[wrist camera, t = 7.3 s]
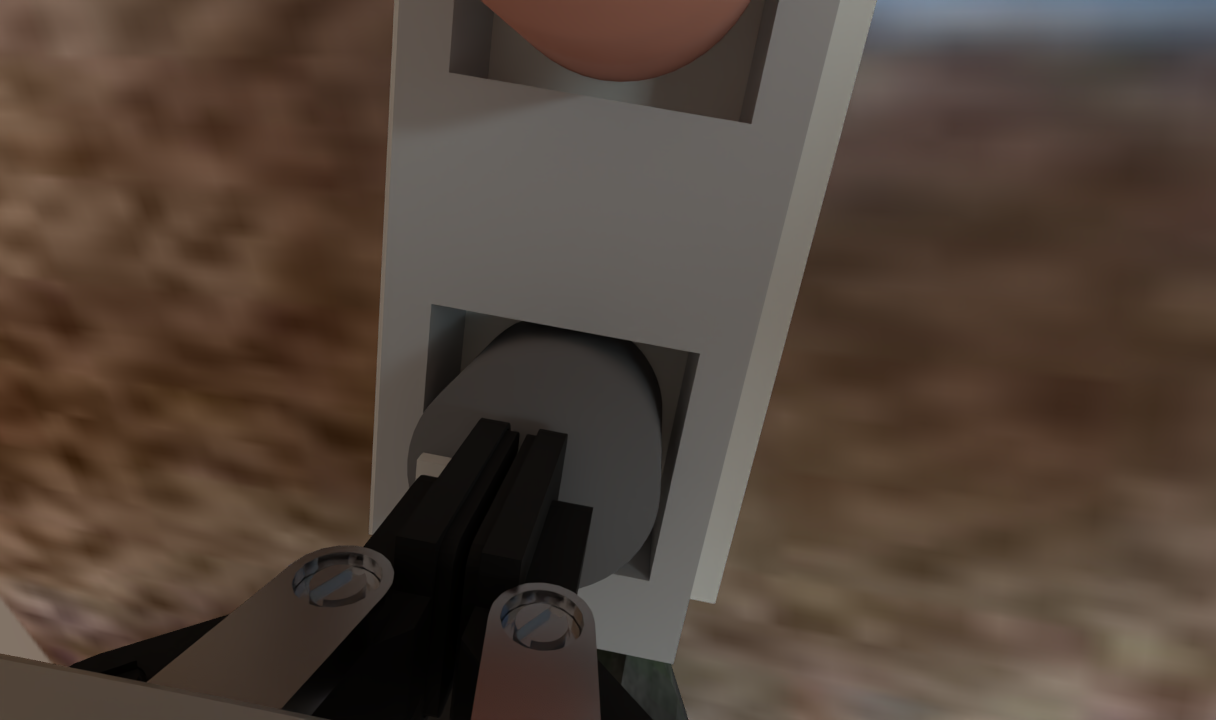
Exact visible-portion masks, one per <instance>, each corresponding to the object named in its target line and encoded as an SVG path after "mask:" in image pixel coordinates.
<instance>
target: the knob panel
mask: <svg viewBox="0 0 1216 720" xmlns="http://www.w3.org/2000/svg"><path fill="white" fill-rule="evenodd" d="M876 2H877V0H751V1H750V3H749V5H748V7H747V8H746V9H745V11H744V12H743V14H742V15H741V17H740V18H739V20H738V21H737V22H736V24H735V25H734V26H733V27H732V28H731V29H730V30H729V31H728V33H727V34H726V35H725V36H724V37H723V38H722V39H721V40H720V41H719V42H718V43H717V44H715V45H714V46H713V47H712V48H711V49H710V50H709V51H707V52H706V53H705V54H703V55H702V56H700V57H699V58H697V59H696V60H694V61H693V62H691V63H690V64H688V65H686V66H684V67H682V68H680V69H678V70H676V71H674V72H671V73H668V74H665V75H662V76H659V77H656V78H651V79H646V80H640V81H628V82H615V81H604V80H598V79H594V78H590V77H586V76H583V75H580V74H578V73H575V72H573V71H570V70H568V69H566V68H564V67H562V66H560V65H559V64H557V63H555V62H553V61H552V60H550V59H549V58H548V57H546V56H545V55H544V54H542V53H541V52H540V51H538V50H537V49H536V48H535V47H534V46H532V45H531V44H530V43H529V42H528V41H527V40H525V39H524V38H523V37H522V36H521V35H520V34H519V33H517V32H516V31H515V30H514V29H513V28H512V27H511V26H509V25H508V24H507V23H506V22H505V21H504V20H502V19H501V18H500V17H499V16H498V15H497V14H496V13H494V12H493V11H492V10H491V9H490V8H489V7H488V6H486V5H485V4H484V3H483V2H482V1H481V0H394V16H393V37H392V58H391V79H390V100H389V121H388V142H387V163H386V184H385V204H384V225H383V246H382V267H381V288H380V309H379V330H378V351H377V371H376V392H375V413H374V434H373V455H372V476H371V497H370V518H369V534H370V535H373V534H374V533H375V531H376V530H377V529H378V528H379V526H380V525H381V524H382V523H383V521H384V520H385V519H386V517H387V516H388V515H389V514H390V512H391V511H392V510H393V509H394V507H395V506H396V505H397V503H398V502H399V501H400V500H401V498H402V497H403V496H404V495H405V493H406V492H407V491H408V489H409V484H408V477H407V459H408V452H409V446H410V442H411V439H412V436H413V432H414V430H415V428H416V426H417V424H418V422H419V419H420V418H421V416H422V415H423V413H424V412H425V410H426V409H427V407H428V406H429V405H430V404H431V403H432V401H433V400H434V399H435V398H436V397H437V396H438V395H439V394H440V393H441V392H442V391H443V390H444V389H445V388H446V387H447V386H448V385H449V384H450V383H451V382H452V381H453V380H454V379H455V378H456V377H457V376H458V375H459V374H460V373H461V372H462V371H463V370H464V369H465V368H466V367H467V366H468V365H469V364H470V363H471V362H472V361H473V360H474V359H475V358H476V357H477V356H478V355H479V354H480V353H481V352H482V351H483V350H484V349H485V348H486V347H487V346H488V345H489V344H490V343H491V342H492V341H493V340H494V339H495V338H496V337H497V336H498V335H499V334H501V333H502V332H503V331H504V330H506V329H507V328H509V327H510V326H512V325H514V324H515V323H518V322H520V321H527V322H532V323H538V324H543V325H548V326H554V327H559V328H565V329H570V330H575V331H581V332H586V333H592V334H597V335H602V336H608V337H613V338H618V339H624V340H629V341H632V342H633V343H634V344H635V345H636V346H637V347H638V348H639V349H640V350H641V352H642V353H643V354H644V355H645V357H646V358H647V360H648V362H649V363H650V365H651V366H652V368H653V371H654V373H655V375H656V377H657V380H658V384H659V387H660V391H661V397H662V447H661V487H660V501H659V508H658V512H657V516H656V519H655V522H654V525H653V527H652V529H651V532H650V534H649V536H648V538H647V539H646V541H645V542H644V544H643V545H642V547H641V548H640V550H639V551H638V552H637V553H636V554H635V555H634V556H633V558H632V559H631V560H630V561H629V562H628V563H626V564H625V565H624V566H623V567H622V568H620V569H619V570H618V571H616V572H615V573H613V574H612V575H610V576H608V577H607V578H605V579H603V580H601V581H598V582H596V583H594V584H592V585H589V586H586V587H583V588H579V589H578V594H577V595H578V596H579V597H580V598H582V599H583V600H584V601H585V602H586V603H587V605H588V606H589V608H590V609H591V610H592V613H593V617H594V621H595V629H596V646H597V649H602V650H606V651H611V652H616V653H621V654H626V655H631V656H636V657H641V658H645V659H650V660H655V661H660V662H665V663H670V664H673V663H674V659H675V655H676V651H677V647H678V643H679V639H680V635H681V631H682V627H683V623H684V619H685V615H686V611H687V607H688V603H689V599H693V600H698V601H703V602H708V603H713V604H715V602H716V598H717V594H718V591H719V587H720V583H721V579H722V576H723V572H724V568H725V564H726V561H727V557H728V553H729V550H730V546H731V542H732V538H733V535H734V531H735V527H736V523H737V520H738V516H739V512H740V509H741V505H742V501H743V497H744V494H745V490H746V486H747V482H748V479H749V475H750V471H751V468H752V464H753V460H754V456H755V453H756V449H757V445H758V441H759V438H760V434H761V430H762V427H763V423H764V419H765V415H766V412H767V408H768V404H769V400H770V397H771V393H772V389H773V385H774V382H775V378H776V374H777V371H778V367H779V363H780V359H781V356H782V352H783V348H784V344H785V341H786V337H787V333H788V330H789V326H790V322H791V318H792V315H793V311H794V307H795V303H796V300H797V296H798V292H799V289H800V285H801V281H802V277H803V274H804V270H805V266H806V262H807V259H808V255H809V251H810V248H811V244H812V240H813V236H814V233H815V229H816V225H817V221H818V218H819V214H820V210H821V207H822V203H823V199H824V195H825V192H826V188H827V184H828V180H829V177H830V173H831V169H832V166H833V162H834V158H835V154H836V151H837V147H838V143H839V139H840V136H841V132H842V128H843V125H844V121H845V117H846V113H847V110H848V106H849V102H850V98H851V95H852V91H853V87H854V84H855V80H856V76H857V72H858V69H859V65H860V61H861V57H862V54H863V50H864V46H865V43H866V39H867V35H868V31H869V28H870V24H871V20H872V16H873V13H874V9H875V5H876Z"/></svg>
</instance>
